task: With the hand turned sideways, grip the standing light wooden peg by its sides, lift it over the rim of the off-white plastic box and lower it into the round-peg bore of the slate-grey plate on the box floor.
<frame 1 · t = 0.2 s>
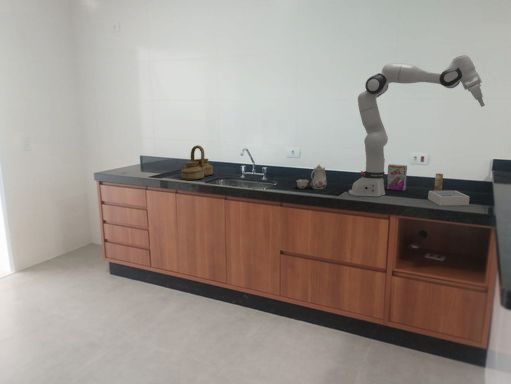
hand: (483, 106, 224), 54 cm above the counter, tool tilted 30°, fingers open, 8 cm apart
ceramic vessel: (197, 177, 325), on the counter
wooden peg: (437, 196, 251), on the counter
bore box: (447, 202, 237), on the counter
chinaware: (315, 187, 282), on the counter
candy bar box: (395, 189, 273), on the counter
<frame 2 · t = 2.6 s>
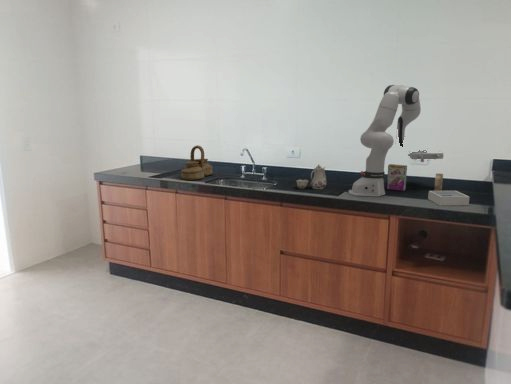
hand: (430, 157, 261), 22 cm above the counter, tool horizontal, fingers open, 8 cm apart
nothing on the counter moved.
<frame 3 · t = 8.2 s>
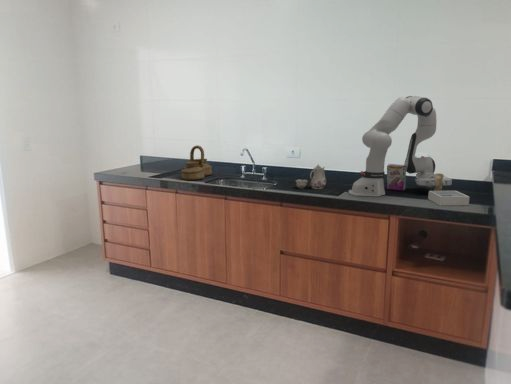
hand: (439, 184, 249), 8 cm above the counter, tool horizontal, fingers closed on wooden peg, 4 cm apart
wooden peg: (437, 196, 251), on the counter, touching gripper
candy bar box: (395, 189, 273), on the counter, touching arm
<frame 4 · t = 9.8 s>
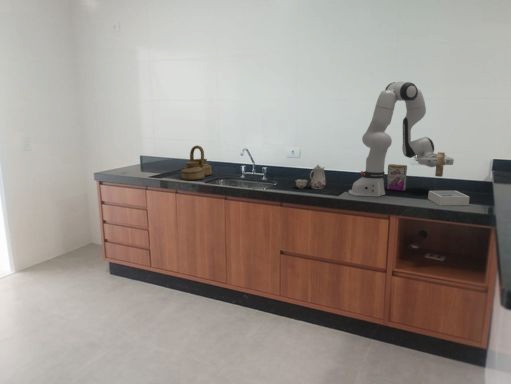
hand: (440, 162, 246), 21 cm above the counter, tool horizontal, fingers closed on wooden peg, 4 cm apart
wooden peg: (438, 176, 249), point 13 cm above the counter, touching gripper
candy bar box: (395, 189, 273), on the counter
everything else where it was.
when the fingers open (10 cm above the counter, at t = 13.5 s): wooden peg stays where it is, resting on bore box.
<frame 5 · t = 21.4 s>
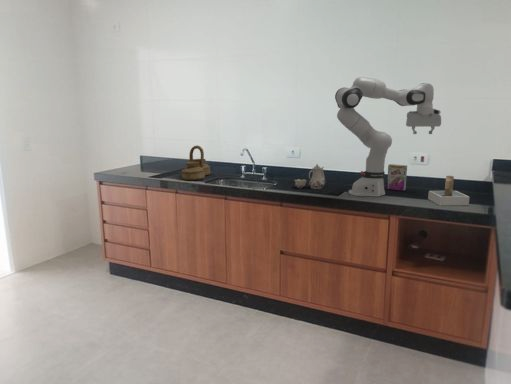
hand: (422, 134, 253), 37 cm above the counter, tool pointing down, fingers open, 8 cm apart
wooden peg: (447, 200, 237), point 1 cm above the counter, touching bore box
at the end: wooden peg 0.0 cm off-centre on the bore box, point 1.0 cm above the bore box's base; wooden peg tilted 0°; the gripper is holding nothing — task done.
